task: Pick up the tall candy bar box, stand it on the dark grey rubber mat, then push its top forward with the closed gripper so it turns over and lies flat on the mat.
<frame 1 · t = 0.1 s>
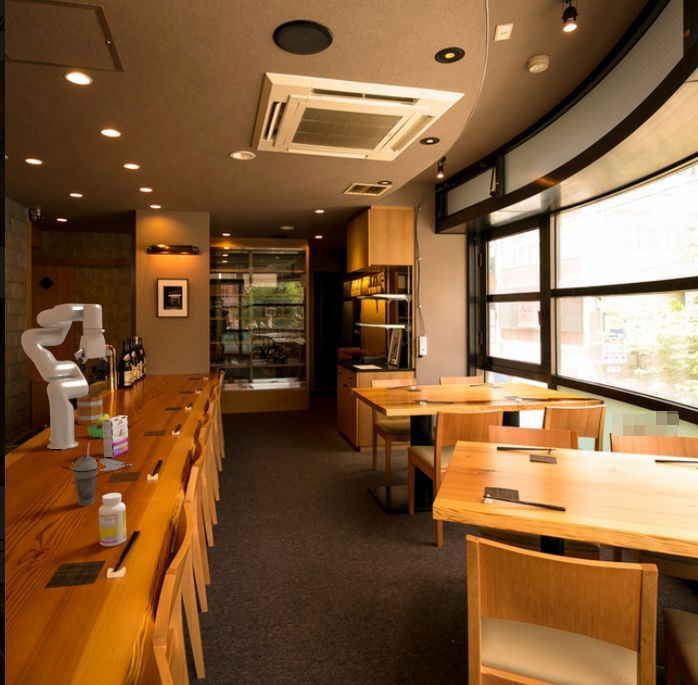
hand: (93, 371, 227), 37 cm above the bar counter, tool pointing down, fingers open, 9 cm apart
candy bar box: (116, 455, 228), on the bar counter
mat: (97, 466, 210), on the bar counter
mug: (90, 421, 299), on the bar counter
beverage cup: (86, 504, 169), on the bar counter
supplement bottle: (113, 542, 140), on the bar counter
fruit basket: (101, 437, 261), on the bar counter
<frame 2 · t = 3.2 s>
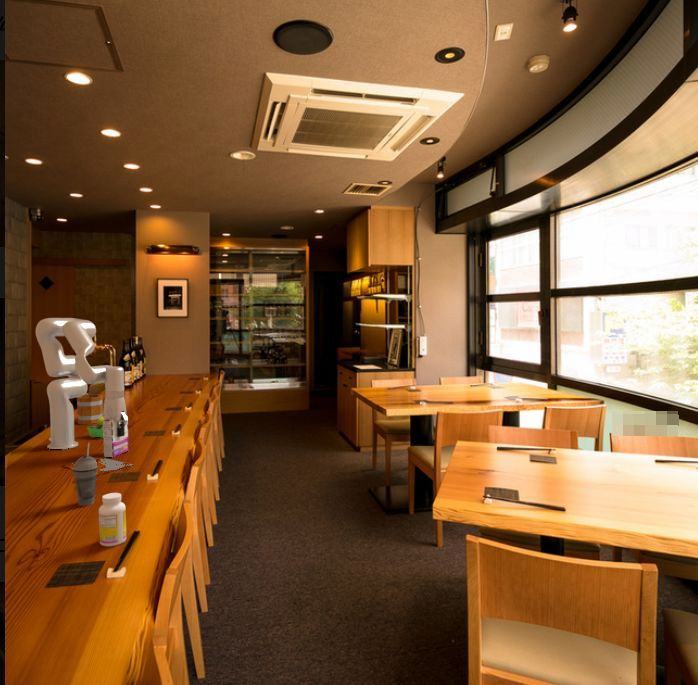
hand: (115, 435, 227), 9 cm above the bar counter, tool pointing down, fingers closed on candy bar box, 6 cm apart
candy bar box: (116, 454, 228), on the bar counter, touching gripper
everything else where it was.
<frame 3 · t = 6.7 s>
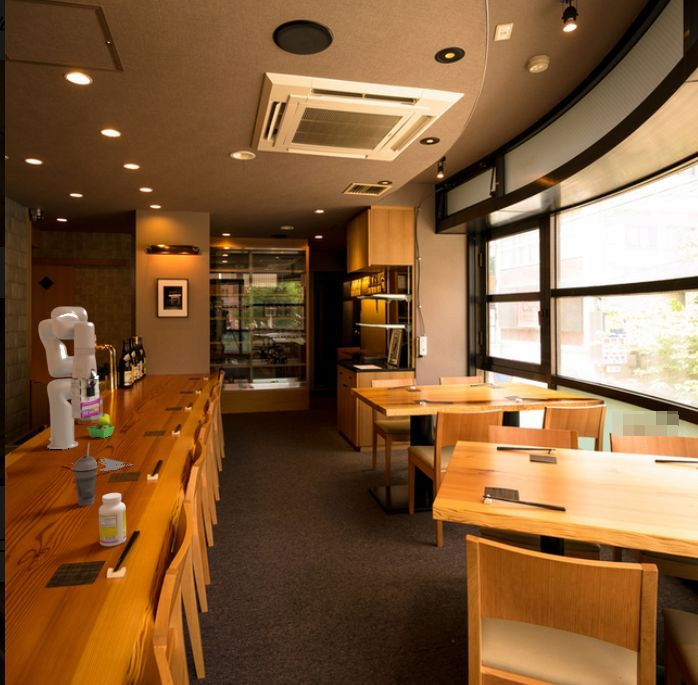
hand: (85, 395, 212), 28 cm above the bar counter, tool pointing down, fingers closed on candy bar box, 6 cm apart
candy bar box: (85, 416, 213), point 20 cm above the bar counter, touching gripper
everything else where it was.
when the fingers open (10 cm above the bar counter, at t = 10.3 s): candy bar box drops 1 cm, resting on mat.
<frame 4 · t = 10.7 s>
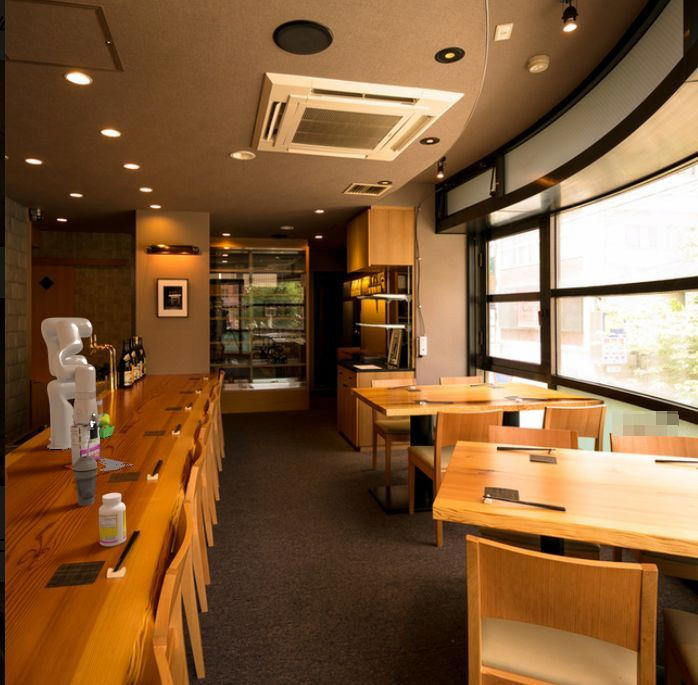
hand: (86, 437, 213), 11 cm above the bar counter, tool pointing down, fingers open, 9 cm apart
candy bar box: (86, 463, 214), resting on mat
everything else where it was.
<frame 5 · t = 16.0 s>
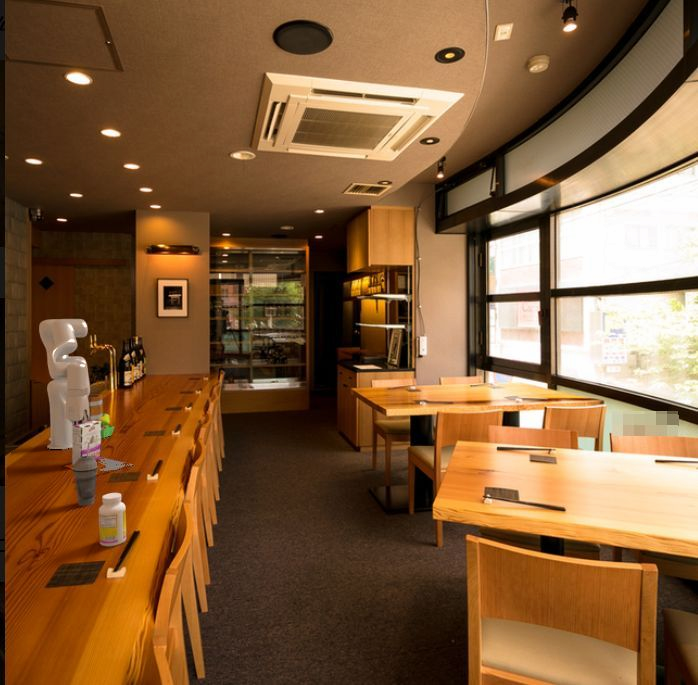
hand: (78, 436, 216), 11 cm above the bar counter, tool pointing down, fingers closed
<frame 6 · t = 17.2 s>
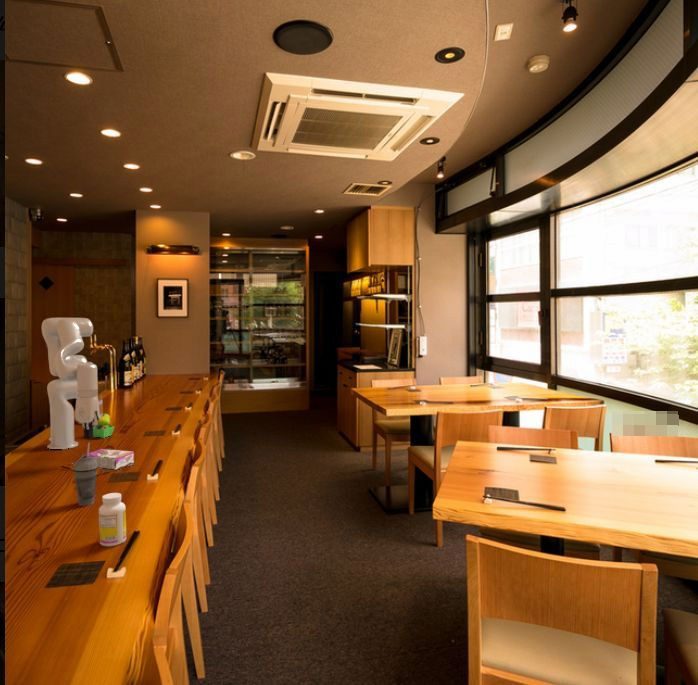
hand: (88, 438, 213), 11 cm above the bar counter, tool pointing down, fingers closed
candy bar box: (91, 457, 213), point 3 cm above the bar counter, touching mat
everything else where it was.
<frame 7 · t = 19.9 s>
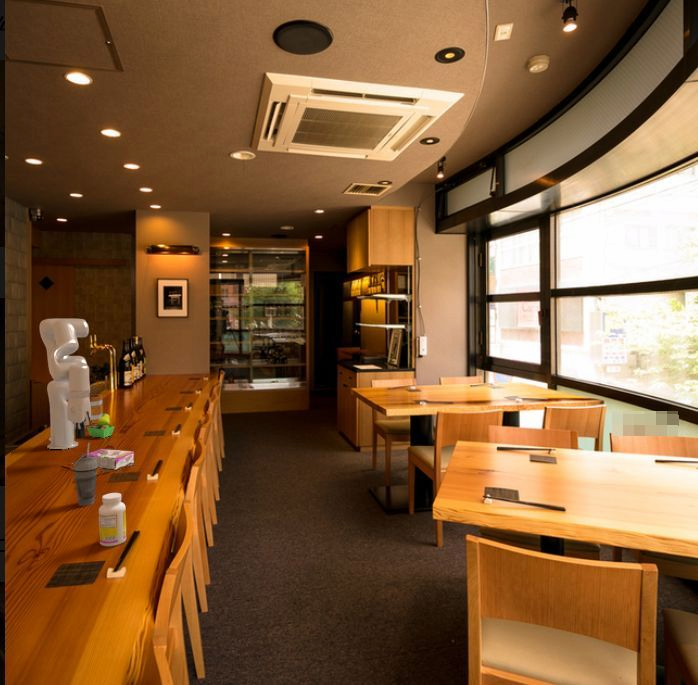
hand: (80, 437, 216), 10 cm above the bar counter, tool pointing down, fingers closed
nothing on the bar counter moved.
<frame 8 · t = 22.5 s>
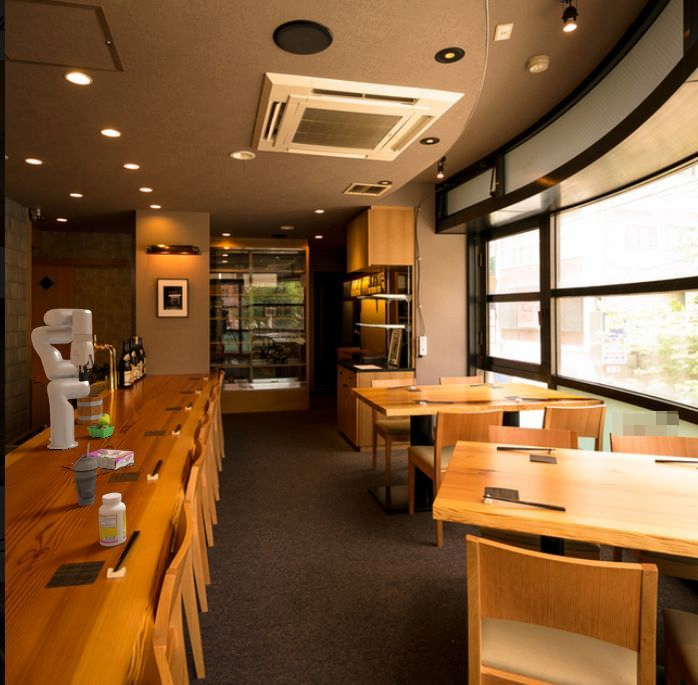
hand: (83, 381, 221), 33 cm above the bar counter, tool pointing down, fingers closed
nothing on the bar counter moved.
at the end: candy bar box tilted 91°; candy bar box inside the target area (7.2 cm from its centre), point 2.8 cm above the bar counter; the gripper is holding nothing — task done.
